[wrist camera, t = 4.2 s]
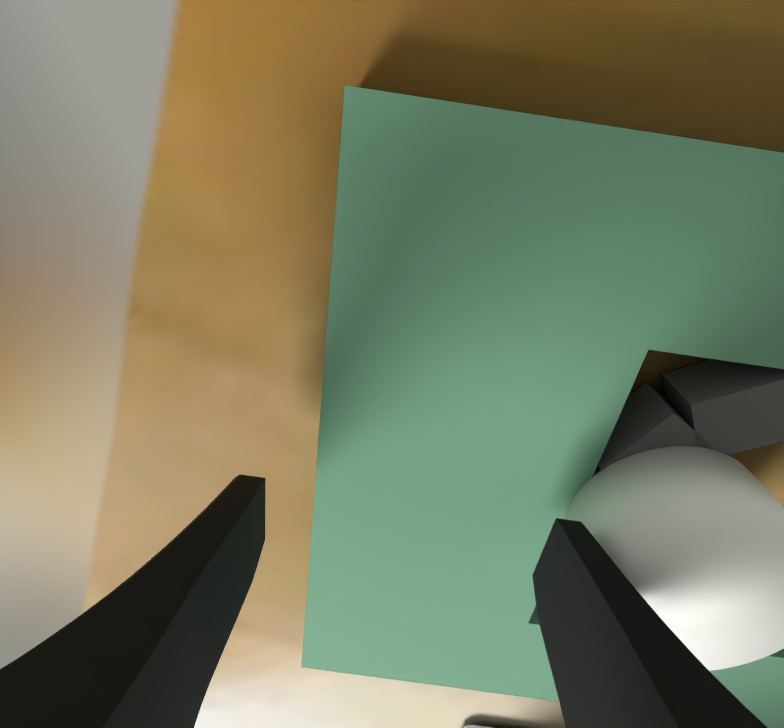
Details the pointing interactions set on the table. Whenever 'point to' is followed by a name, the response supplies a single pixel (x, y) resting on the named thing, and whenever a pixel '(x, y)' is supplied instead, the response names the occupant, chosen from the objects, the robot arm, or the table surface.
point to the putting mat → (520, 367)
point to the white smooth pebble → (695, 547)
